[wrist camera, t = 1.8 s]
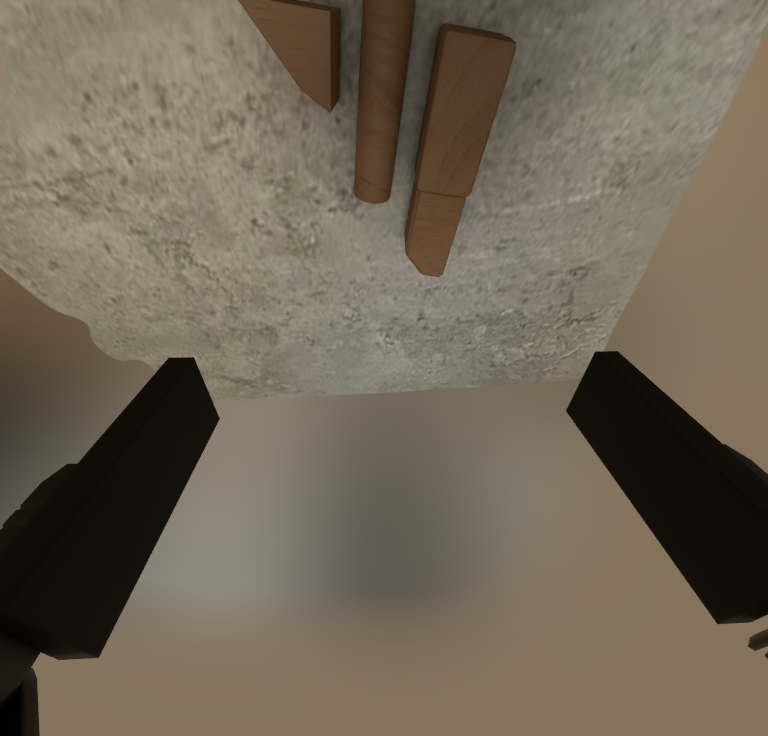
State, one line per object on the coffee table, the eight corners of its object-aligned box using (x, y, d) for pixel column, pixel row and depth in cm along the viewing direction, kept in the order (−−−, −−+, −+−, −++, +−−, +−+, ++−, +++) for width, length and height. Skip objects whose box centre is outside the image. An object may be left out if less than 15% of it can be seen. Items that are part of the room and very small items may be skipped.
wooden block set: (531, 20, 18) (445, 286, 32) (509, 15, 22) (441, 255, 35) (222, -39, 17) (272, 264, 30) (255, -34, 20) (286, 234, 34)
